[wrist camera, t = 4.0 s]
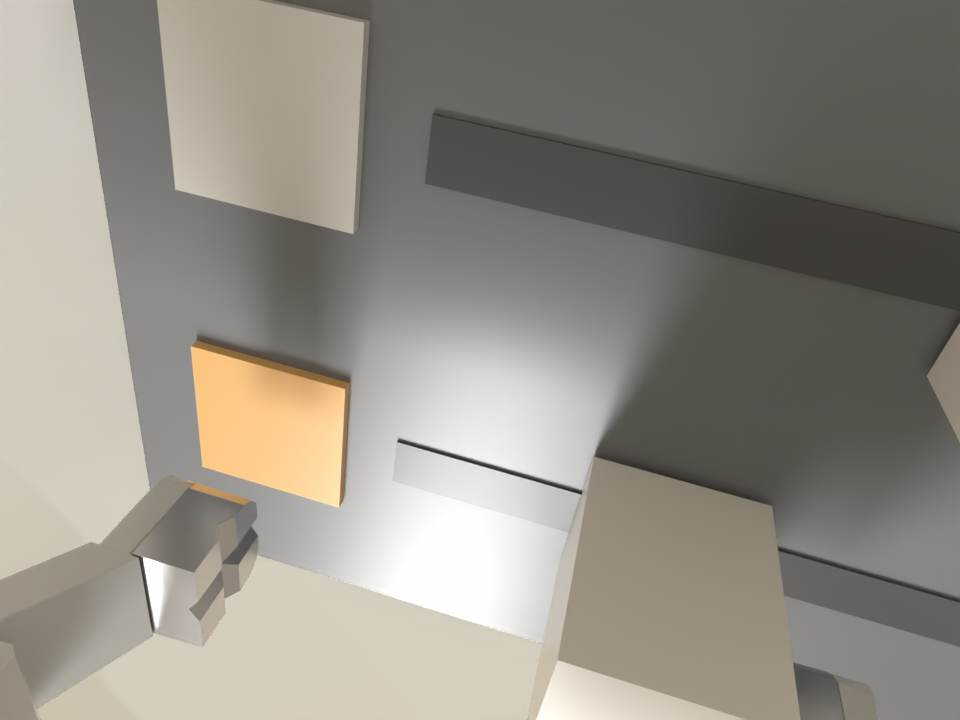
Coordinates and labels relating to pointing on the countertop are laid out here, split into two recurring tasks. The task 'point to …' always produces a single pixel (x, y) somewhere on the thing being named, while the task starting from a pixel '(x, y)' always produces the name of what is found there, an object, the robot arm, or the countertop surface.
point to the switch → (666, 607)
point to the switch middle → (948, 380)
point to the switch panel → (552, 287)
